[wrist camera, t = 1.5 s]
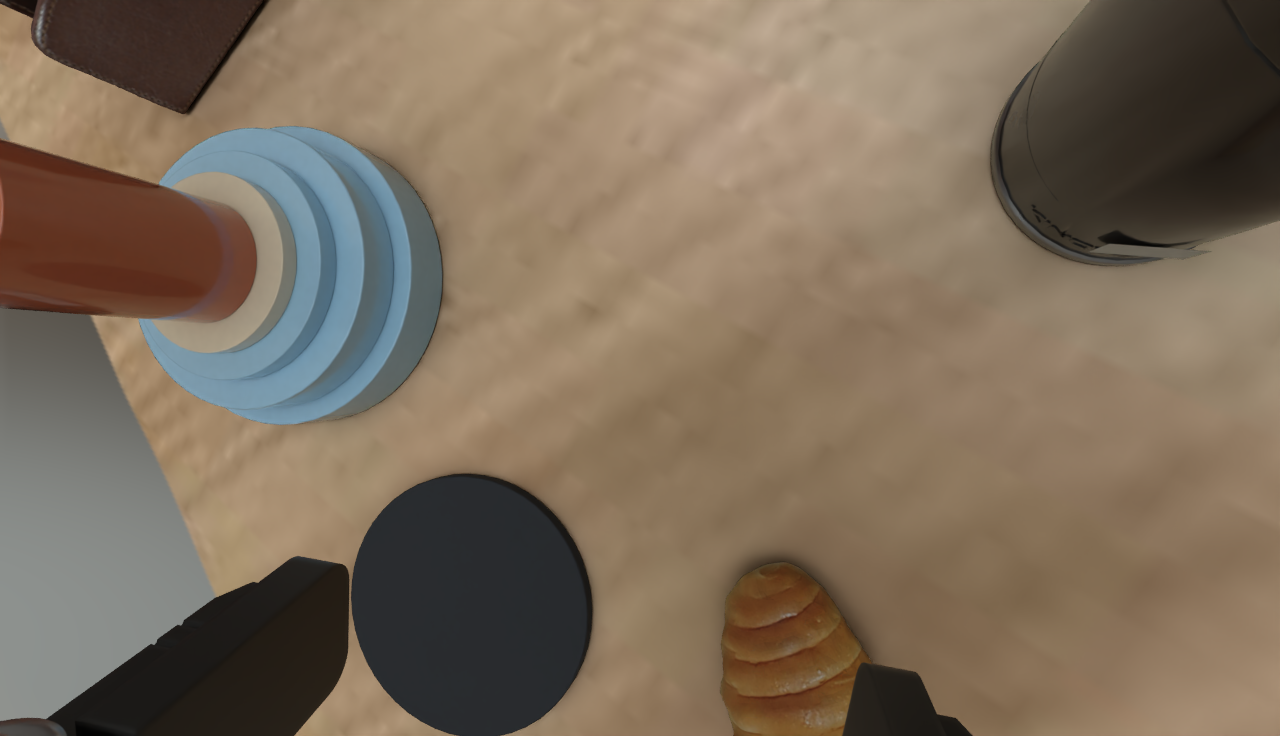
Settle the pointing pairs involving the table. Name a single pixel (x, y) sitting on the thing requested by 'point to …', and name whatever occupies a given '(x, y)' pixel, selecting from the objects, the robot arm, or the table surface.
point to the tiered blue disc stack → (308, 279)
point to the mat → (471, 605)
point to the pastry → (786, 656)
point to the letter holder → (140, 41)
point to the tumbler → (115, 243)
